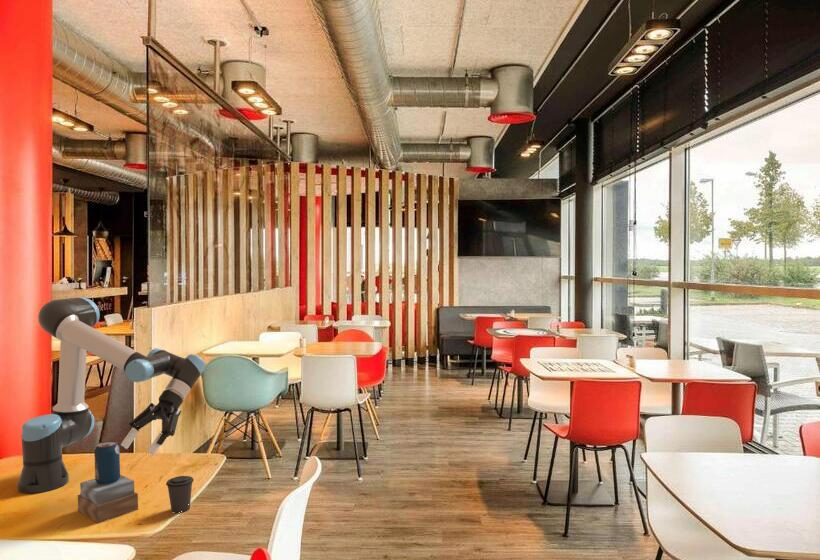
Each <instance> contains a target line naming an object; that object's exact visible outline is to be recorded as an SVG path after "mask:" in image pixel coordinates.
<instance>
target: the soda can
mask: <svg viewBox="0 0 820 560" xmlns="http://www.w3.org/2000/svg"><path fill="white" fill-rule="evenodd" d="M120 454H121V453H120V446H119V445H118V442H117V441H116V440H108V441H102V442H99V443H96V446H95V449H94V479H95V480H96V482H97V483H98V484H99V485H109V484H113V483H115V482H117V481H118V479H119V478H120V475H121V464H120V462H121V461H120V458H121V457H120V456H121V455H120Z"/></svg>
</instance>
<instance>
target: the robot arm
mask: <svg viewBox="0 0 820 560" xmlns="http://www.w3.org/2000/svg"><path fill="white" fill-rule="evenodd" d="M100 313H101V312H100V309H99V307H98V306H97V304H96V303H95V302H94V301H93V300H91V299H90V298H87V297H69V298H63V299H62V298H61V299H60V298H59V299H53V300H50V301H47V302H46V303H45V304H43V306H42V307H41V308H40V309H39V312H38V316H37V318H38V323H39V325H40V327H41V328H42V329H43V330H44V332H46V333H47V334H49V335H50V336H51V337H54V338H56V339H57V340H59V342H60V344H59V345H60V346H59V348H60V349H59V365H58V367H59V368H58V372H59V373H58V389H57V390H58V391H57V403H56V404H55V405H54V406H53V407H52V413H49V414H43V415H42V414H41V415H40V416H39V415H38V416H35V417H33V418H30V419H28V420H26V421H25V422H24V423H23V425H22V427H21V435H20V437H21V448H22V469H21V471H20V475H19V478H18V480H17V481H18V482H17V491H18V492H19V493H23V494H37V493H43V492H49V491H52V490H56V489H58V488H60V487H64V486H65V485H67V484H68V483H69V482H70V481H69V479H70V474H69V471H68V470H67V468H66V465H65V463H64V460H63V448H65V447H67V446H70V445H73V444H74V443H78V442H80V441H82V440H83V439H85V438H87V437H88V436H89V435H90V434H91V433H92V431H93V429H94V427H95V417H94V415H93V413H92V411H91V410H90V409H89V407H90V406H89V405H88V404H87V403H86V402H85V396H86V395H85V394H86V392H85V391H86V373H87V372H86V371H87V352H88V353H90V354H92V355H94V356H96V357H97V358H100V359H101V360H103V361H105V362H107V363H109V364H111V365H113V366H114V367H116V368H118V369H120V370H122V371H124V372H125V376H127V377H126V378H128V380H129V381H131V382H134V383H140V382H145V381H148V380H151V379H153V378H155V377H159V376H160V375H166V376H169V377H172V378H171V380H169V383H168V384H167V385H166V386H165V389H164V390H163V391H162V392H161V394H160V396H159V397H158V403H156V405H155V404H154V403H153V402H150V404H149V405H148V406H147V407H146V408H144V410H142V412H141V413H139V414H138V415H137V416H136V417H134V418H133V419H132V420H131V421H130V422H129V424H128V425H129V426H130V427H131V428H130V430H129V431H128V432H127V434H126V435H125V437H124V439H123V440H122V442H121V443H120V446H122V447H123V448H124V449H125V450H128V448H129V447H130V446H131V444H132V443H133V441H134V440H135V438H136V437H137V435H138V434H139V432H140V430H141V429H142V428H144V427H145V426H147V425H148V424H150V423H152V422H153V421H156V420H161V431H159V433H157V436H156V437H155V438H154V440H153V442H152V443H151V444H150V447H149V448H148V449H147V452H148V453H150V454H151V455H153V456H155V455H156V454H157V452H158V451H159V448H160V447H161V446H162V445H163V444H164V442H165V441H166V440H167V438H169V437H174V435H175V434H176V429H177V425H178V420H179V417H180V415H181V413H182V410H180V407H181V405H182V403H183V402H184V400H185V399H186V398H187V396H188V394H189V393H190V392H191V390H192V389H193V386H195V384H196V382H197V381H198V380H199V378H200V376H202V373H203V372H204V370H205V369H206V362H205V360H204V358H202V357H200V356H199V355H197V354H193V353H190V354H188V355H187V356H186V357H185V358H184V357H183V356H179V355H177V354H174V353H171V352H169V351H167V350H164V349H161V348H158V347H155V348H153V349H152V350H150V351H149V352H148V354H147V356H146V355H144V354H142V353H140V352H138V351H137V350H135V349H133V348H132V347H129V346H128V345H126V344H124V343H122V342H120V341H118V340H116V339H114V338H112V337H111V336H110V335H107V334H105V333H104V332H101V331H99V330H98V329H96V328H94V326H96V324H97V323H98V322H99V320H100V316H101V315H100Z"/></svg>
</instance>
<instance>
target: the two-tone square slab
mask: <svg viewBox="0 0 820 560" xmlns="http://www.w3.org/2000/svg"><path fill="white" fill-rule="evenodd" d="M79 484H80V494H78V495H77V512H79V513H80V512H81V514H82V513H83V514H82V515H83V516H85V515H86V517H87V516H88V517H87V518H89V519H90V518H91V521H93V522H95V521H96V523H97V524H101V523H104V522H106V521H109V520H111V519H115V518H117V517H118V518H119V517H122V516H123V515H126V514H128V513H129V514H130V513H132V512H135V511H138V510H139V498H138V497H139V496H138V495H139V494H138V492H136V491H135V480H133V479H132V478H129V477H127V476H125V475H122V474H120V478H119V479H118V481H117V482H115V483H113V484H109V485H99V484H98V483H97V482H96V480H95V478H92V479H90V480H86V481H83V482H79ZM108 519H109V520H108ZM105 520H106V521H105Z"/></svg>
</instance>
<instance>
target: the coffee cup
mask: <svg viewBox="0 0 820 560" xmlns="http://www.w3.org/2000/svg"><path fill="white" fill-rule="evenodd" d="M194 481H195V479H194V478H193V477H192V476H191V475H179V476H175V477H172V478H170V479H168V480H167V481H166V482H165V483H166V484H165V485H166V486H167V490H168V491H167V492H168V496H169V497H168V498H169V505H170V511H171V512H175V513H174V514H182V513H186V512H188V511H190V509H191V499H192V498H191V497H192V491H193V490H192V487H193V482H194ZM188 504H189V505H188ZM181 511H182V512H181ZM179 512H180V513H179Z"/></svg>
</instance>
